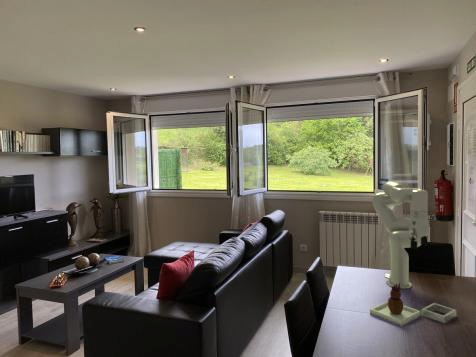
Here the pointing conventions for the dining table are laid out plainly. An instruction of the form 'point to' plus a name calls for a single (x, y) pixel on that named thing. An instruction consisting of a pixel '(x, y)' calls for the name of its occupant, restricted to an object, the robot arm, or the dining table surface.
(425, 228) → the robot arm
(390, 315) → the sage tray
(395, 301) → the brown lumpy elongated piece
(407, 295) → the dining table surface
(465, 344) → the dining table surface
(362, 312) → the dining table surface
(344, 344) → the dining table surface
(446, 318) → the white square bin
